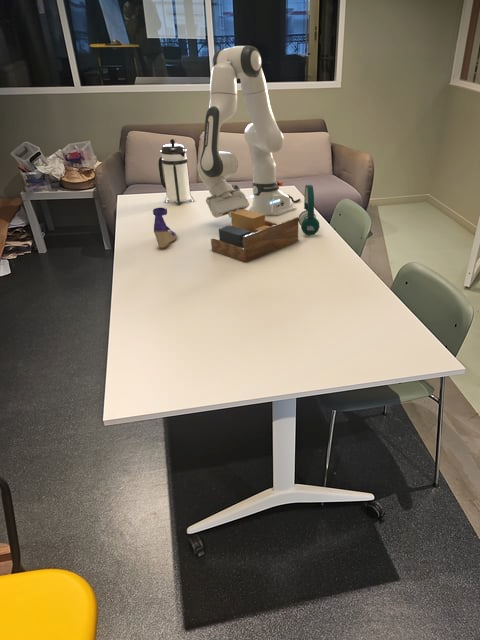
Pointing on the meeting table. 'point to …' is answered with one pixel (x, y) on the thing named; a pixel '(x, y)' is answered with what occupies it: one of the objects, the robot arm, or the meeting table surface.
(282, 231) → the wooden corner tray
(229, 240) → the dark grey block
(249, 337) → the meeting table surface
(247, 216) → the tan stepped block
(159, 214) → the purple and beige piece
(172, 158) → the coffee press
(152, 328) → the meeting table surface
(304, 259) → the meeting table surface
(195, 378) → the meeting table surface
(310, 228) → the headphones
